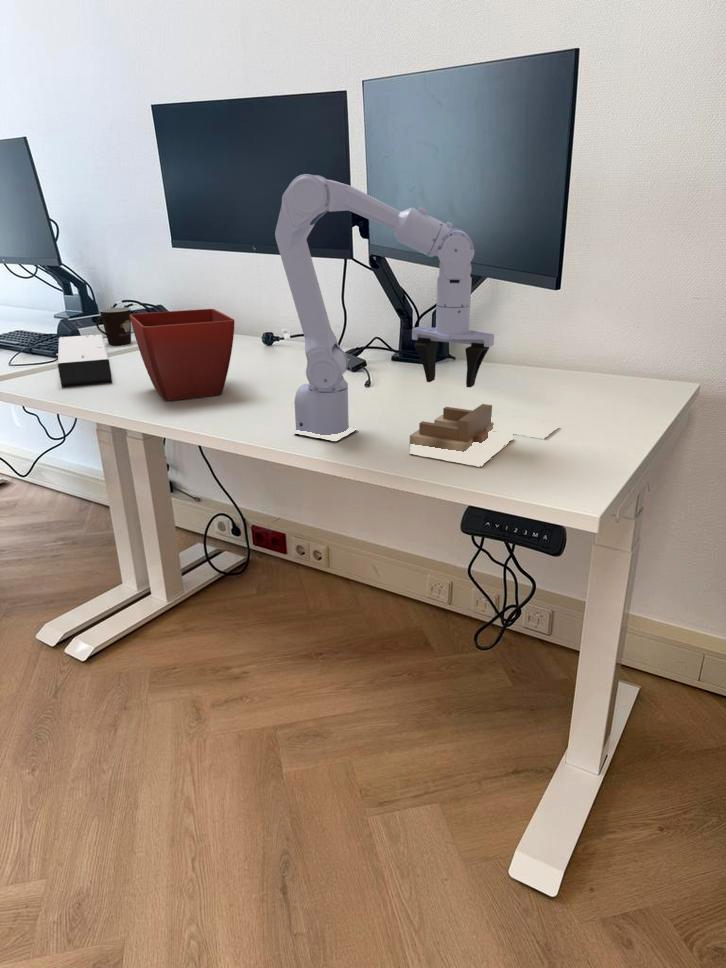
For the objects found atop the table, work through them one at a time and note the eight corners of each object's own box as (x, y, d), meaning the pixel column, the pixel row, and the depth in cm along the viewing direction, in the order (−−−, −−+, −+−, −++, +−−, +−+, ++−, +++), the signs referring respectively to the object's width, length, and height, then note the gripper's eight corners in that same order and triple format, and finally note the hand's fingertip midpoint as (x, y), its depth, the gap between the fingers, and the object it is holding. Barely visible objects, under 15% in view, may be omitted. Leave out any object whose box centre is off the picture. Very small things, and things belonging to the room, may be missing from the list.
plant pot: (219, 377, 171) (213, 307, 164) (241, 397, 155) (235, 319, 149) (138, 387, 164) (128, 313, 157) (153, 408, 148) (142, 327, 141)
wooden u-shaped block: (406, 454, 120) (406, 437, 119) (444, 428, 133) (445, 413, 132) (480, 467, 114) (481, 450, 113) (513, 439, 127) (514, 423, 126)
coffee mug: (128, 339, 216) (123, 306, 212) (139, 344, 210) (135, 309, 206) (90, 345, 209) (84, 310, 205) (101, 349, 203) (95, 314, 199)
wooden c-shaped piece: (419, 434, 121) (419, 414, 119) (445, 417, 130) (446, 398, 128) (467, 442, 117) (468, 422, 115) (491, 424, 126) (492, 405, 124)
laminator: (112, 385, 167) (108, 359, 165) (57, 390, 163) (52, 363, 161) (105, 356, 196) (102, 334, 194) (58, 360, 192) (54, 337, 190)
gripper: (404, 305, 120) (403, 383, 125) (485, 311, 113) (480, 393, 118) (422, 300, 125) (420, 375, 131) (500, 305, 119) (495, 384, 124)
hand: (450, 383), depth 125 cm, fingers open, 7 cm apart
